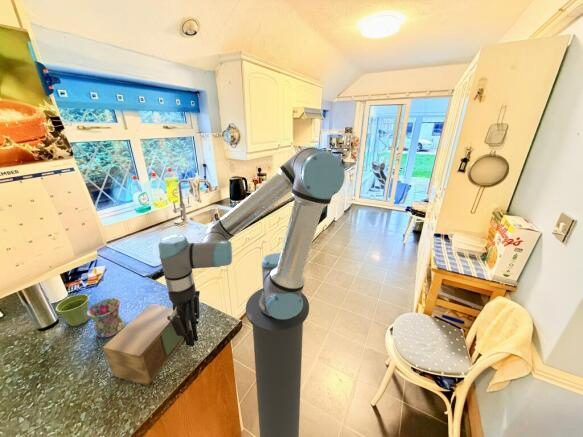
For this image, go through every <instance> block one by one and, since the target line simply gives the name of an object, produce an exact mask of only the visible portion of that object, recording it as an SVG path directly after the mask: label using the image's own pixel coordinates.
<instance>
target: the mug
mask: <svg viewBox="0 0 583 437" xmlns="http://www.w3.org/2000/svg"><path fill="white" fill-rule="evenodd" d="M120 304H121V302H120V299H118V298H115V297H110V298H105V299H102V300H100V301H97V302H96V303H94V304H92V305H91V306H89V309H88V311H87V316H88V317H90V318H89V319H91V320H92V321H93V322H94V325H93V328H94V331H95V332H96V336H97V337H98V338H101V339H106V338H110V337H112V336H116V335H117V334H118V333H119V332H120V331H121V330H122V329H123V328H125V325H126V321H125V320H124V319H123V318H122V317H121V316H120V312H119V309H120Z"/></svg>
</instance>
